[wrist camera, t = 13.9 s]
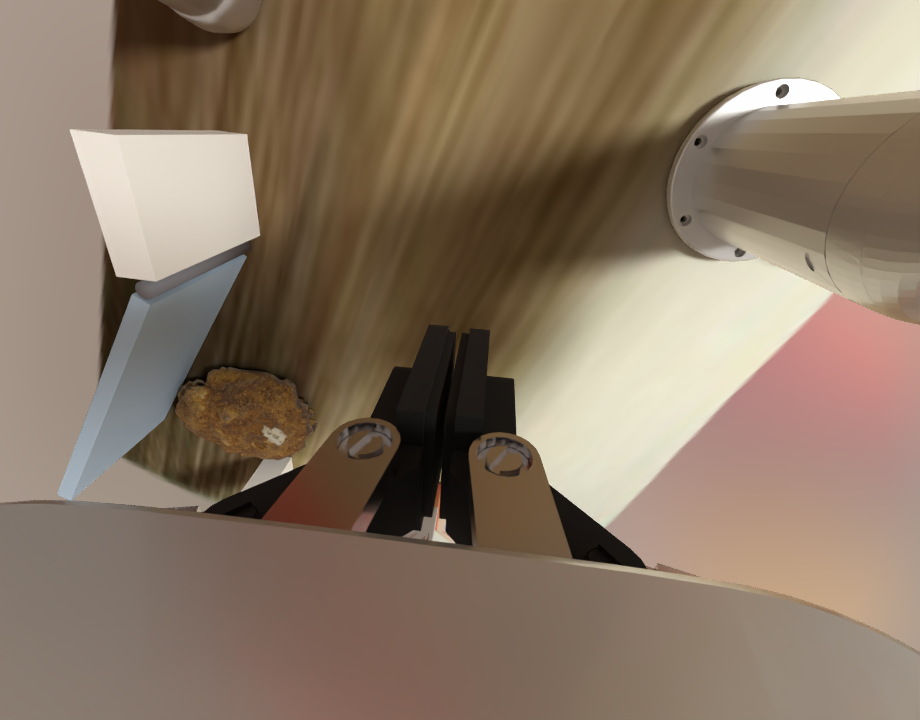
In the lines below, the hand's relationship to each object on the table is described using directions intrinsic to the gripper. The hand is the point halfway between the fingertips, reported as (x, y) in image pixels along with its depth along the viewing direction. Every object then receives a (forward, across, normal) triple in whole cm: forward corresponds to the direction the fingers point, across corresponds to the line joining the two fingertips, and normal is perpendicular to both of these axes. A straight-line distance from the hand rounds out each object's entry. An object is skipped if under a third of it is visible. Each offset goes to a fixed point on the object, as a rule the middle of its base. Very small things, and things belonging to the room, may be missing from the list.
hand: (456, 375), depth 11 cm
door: (+25, +29, +14) cm, 41 cm away
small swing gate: (+26, +22, +14) cm, 37 cm away
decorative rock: (+26, +25, +23) cm, 43 cm away
